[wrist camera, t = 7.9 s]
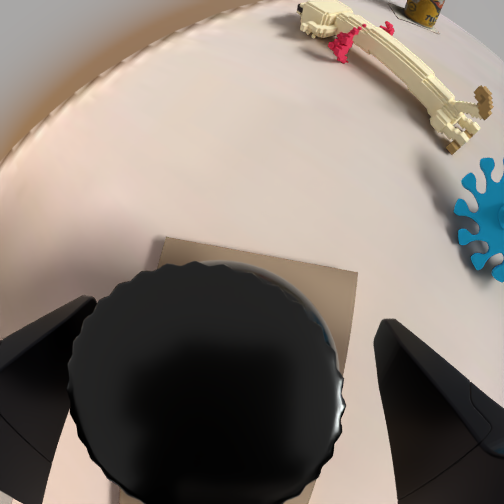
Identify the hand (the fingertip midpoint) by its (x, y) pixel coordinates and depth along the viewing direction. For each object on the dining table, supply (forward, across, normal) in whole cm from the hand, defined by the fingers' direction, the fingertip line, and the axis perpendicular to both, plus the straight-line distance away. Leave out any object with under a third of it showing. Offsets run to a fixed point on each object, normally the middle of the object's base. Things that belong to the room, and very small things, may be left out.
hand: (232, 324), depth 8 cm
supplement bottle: (+5, 0, +7) cm, 8 cm away
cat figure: (+26, -12, -12) cm, 31 cm away
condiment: (+42, -26, -29) cm, 57 cm away
